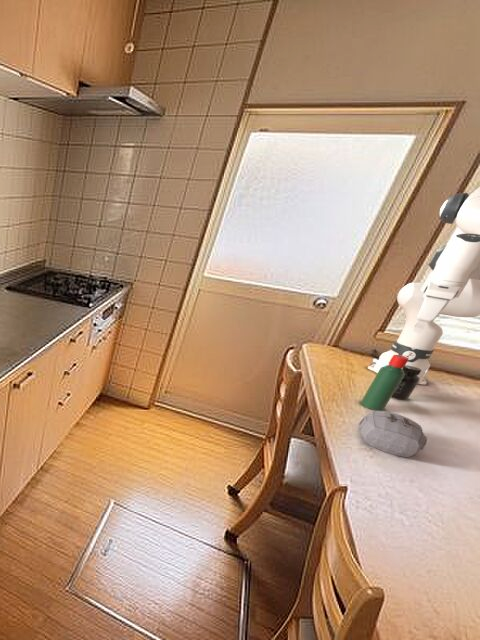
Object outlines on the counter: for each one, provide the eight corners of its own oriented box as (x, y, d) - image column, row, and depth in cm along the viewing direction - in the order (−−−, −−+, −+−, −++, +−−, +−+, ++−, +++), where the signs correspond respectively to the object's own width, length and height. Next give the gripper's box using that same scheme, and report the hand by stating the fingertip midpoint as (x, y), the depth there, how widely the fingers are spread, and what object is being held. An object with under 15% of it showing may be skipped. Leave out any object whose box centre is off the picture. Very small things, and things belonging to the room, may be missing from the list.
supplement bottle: (412, 401, 157) (430, 373, 151) (391, 398, 158) (409, 370, 152) (399, 393, 163) (416, 365, 157) (379, 390, 164) (396, 362, 158)
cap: (389, 362, 146) (394, 353, 145) (404, 366, 144) (409, 357, 142) (387, 364, 144) (392, 356, 142) (403, 369, 141) (408, 360, 140)
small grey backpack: (419, 464, 119) (415, 438, 133) (436, 440, 115) (430, 415, 129) (352, 441, 128) (355, 418, 142) (366, 418, 124) (368, 397, 138)
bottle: (361, 400, 155) (389, 353, 146) (384, 407, 151) (413, 359, 142) (359, 405, 151) (387, 357, 142) (382, 412, 147) (412, 363, 138)
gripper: (429, 282, 140) (406, 321, 146) (426, 290, 127) (401, 333, 133) (456, 287, 136) (431, 327, 142) (455, 295, 123) (428, 339, 129)
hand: (417, 330), depth 138 cm, fingers open, 5 cm apart
